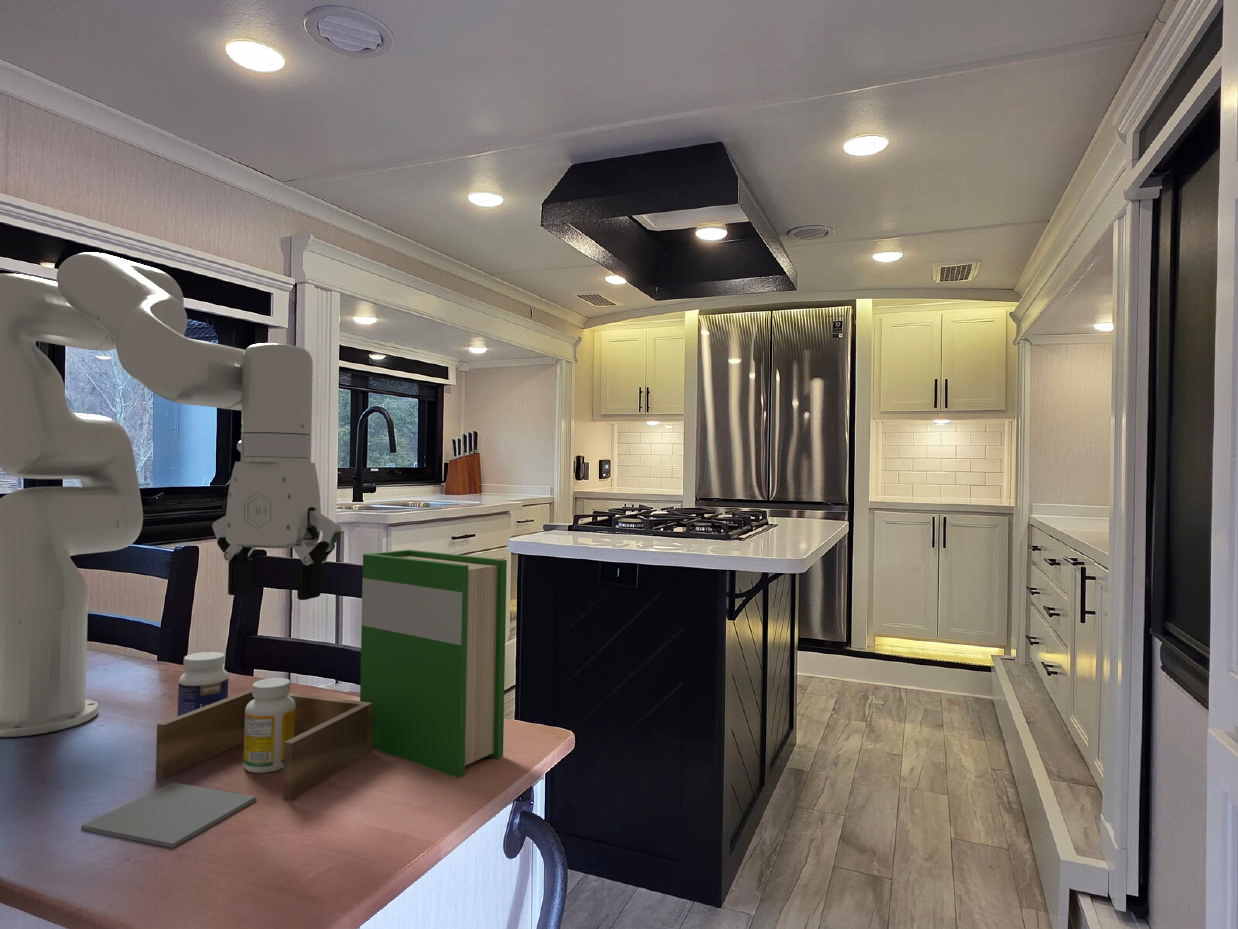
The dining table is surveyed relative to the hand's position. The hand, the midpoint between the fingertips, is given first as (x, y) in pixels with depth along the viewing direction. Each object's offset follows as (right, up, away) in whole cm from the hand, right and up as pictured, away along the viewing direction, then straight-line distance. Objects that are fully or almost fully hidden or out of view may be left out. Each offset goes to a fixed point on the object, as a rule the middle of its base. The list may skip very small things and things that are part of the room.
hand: (274, 595), depth 85 cm
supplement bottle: (0, -20, 0) cm, 20 cm away
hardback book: (+17, -20, +5) cm, 27 cm away
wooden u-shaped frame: (0, -20, 0) cm, 20 cm away
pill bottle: (-14, -20, +10) cm, 26 cm away
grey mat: (-4, -20, -13) cm, 24 cm away
